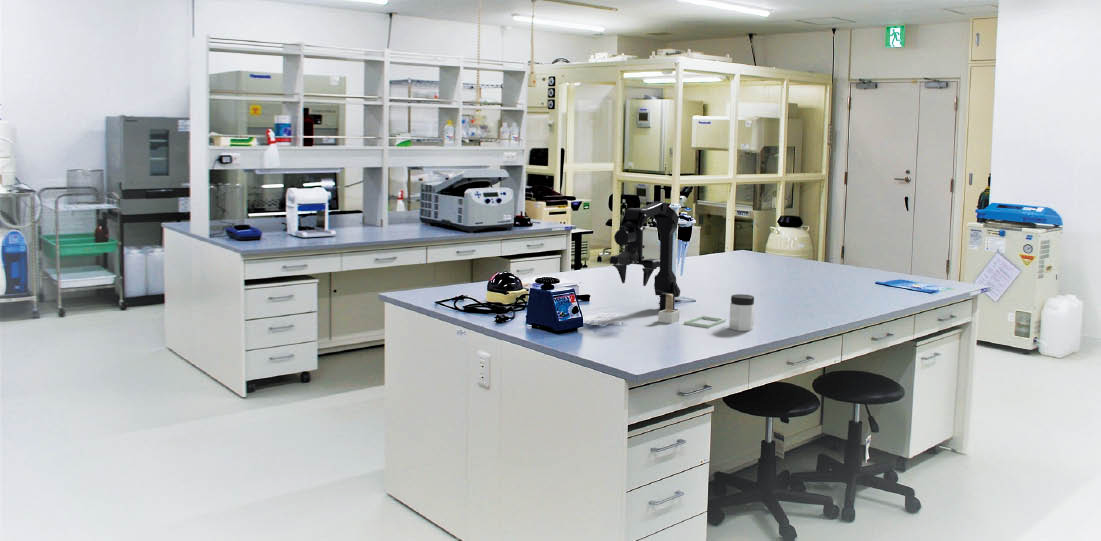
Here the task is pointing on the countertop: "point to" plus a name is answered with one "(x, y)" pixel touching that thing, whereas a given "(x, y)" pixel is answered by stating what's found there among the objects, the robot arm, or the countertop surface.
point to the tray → (691, 322)
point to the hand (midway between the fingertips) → (633, 284)
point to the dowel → (669, 303)
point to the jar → (741, 312)
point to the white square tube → (668, 316)
